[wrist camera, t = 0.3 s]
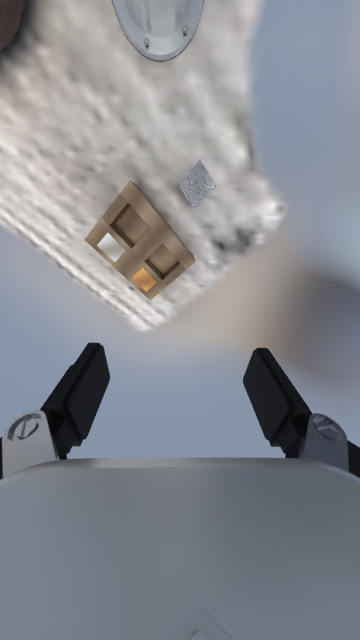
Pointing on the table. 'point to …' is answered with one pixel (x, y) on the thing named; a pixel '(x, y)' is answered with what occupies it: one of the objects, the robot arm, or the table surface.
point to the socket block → (140, 243)
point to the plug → (196, 184)
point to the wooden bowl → (10, 20)
